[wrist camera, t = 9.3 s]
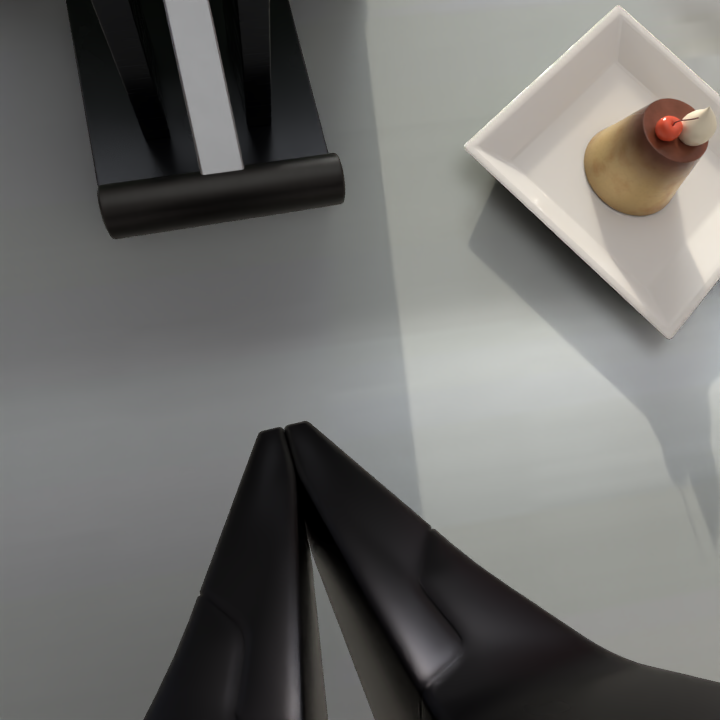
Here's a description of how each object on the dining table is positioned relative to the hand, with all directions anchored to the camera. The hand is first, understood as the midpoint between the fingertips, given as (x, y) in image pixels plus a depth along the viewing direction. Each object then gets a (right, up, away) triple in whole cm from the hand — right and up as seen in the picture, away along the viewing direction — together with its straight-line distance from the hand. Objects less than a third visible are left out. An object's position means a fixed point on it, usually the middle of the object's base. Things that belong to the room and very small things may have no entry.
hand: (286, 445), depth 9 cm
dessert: (+14, +10, +17) cm, 24 cm away
